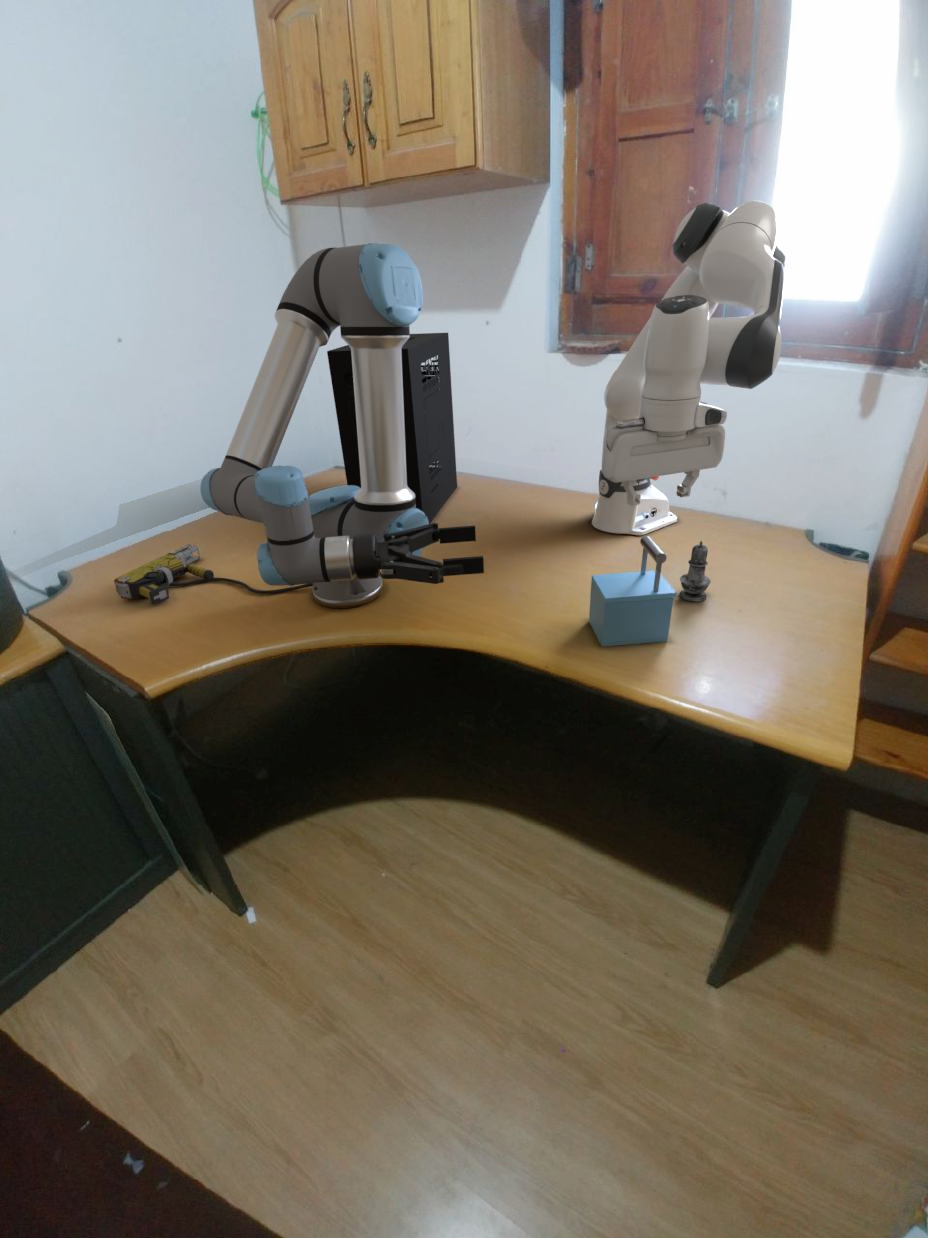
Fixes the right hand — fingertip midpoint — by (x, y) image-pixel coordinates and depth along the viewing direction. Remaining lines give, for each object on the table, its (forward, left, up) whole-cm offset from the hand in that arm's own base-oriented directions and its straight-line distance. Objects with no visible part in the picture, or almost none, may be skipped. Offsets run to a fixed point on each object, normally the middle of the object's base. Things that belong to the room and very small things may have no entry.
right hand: (658, 500), depth 101 cm
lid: (+3, -1, -16) cm, 17 cm away
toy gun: (+79, -69, -25) cm, 108 cm away
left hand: (+28, -11, -6) cm, 31 cm away
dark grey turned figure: (-17, -5, -25) cm, 31 cm away
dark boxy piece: (+14, -89, -25) cm, 94 cm away
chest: (+3, -1, -25) cm, 25 cm away
